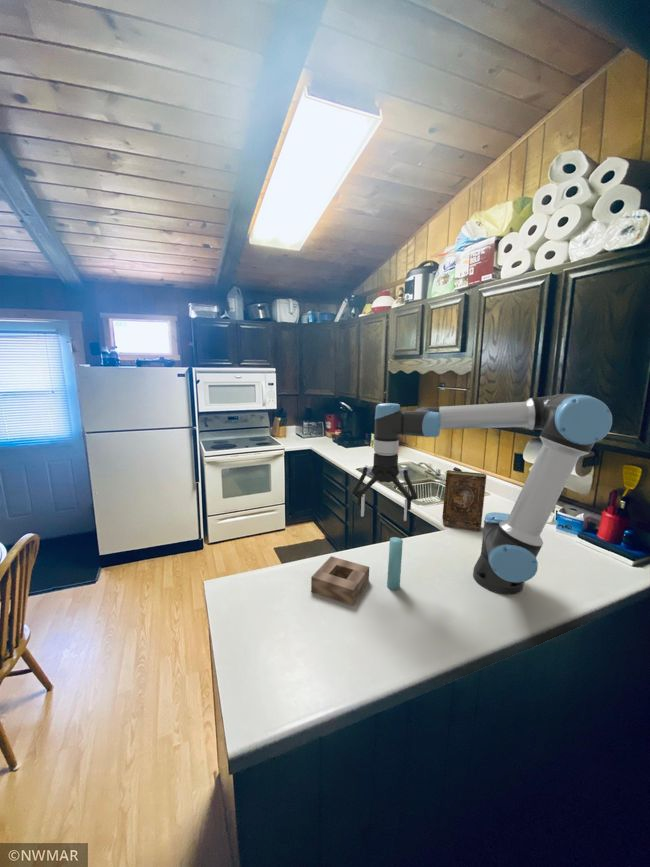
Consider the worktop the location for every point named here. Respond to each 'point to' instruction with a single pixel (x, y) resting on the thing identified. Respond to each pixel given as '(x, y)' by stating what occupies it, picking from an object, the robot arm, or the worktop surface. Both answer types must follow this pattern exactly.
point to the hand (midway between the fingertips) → (383, 517)
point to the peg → (394, 563)
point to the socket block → (340, 580)
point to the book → (464, 500)
